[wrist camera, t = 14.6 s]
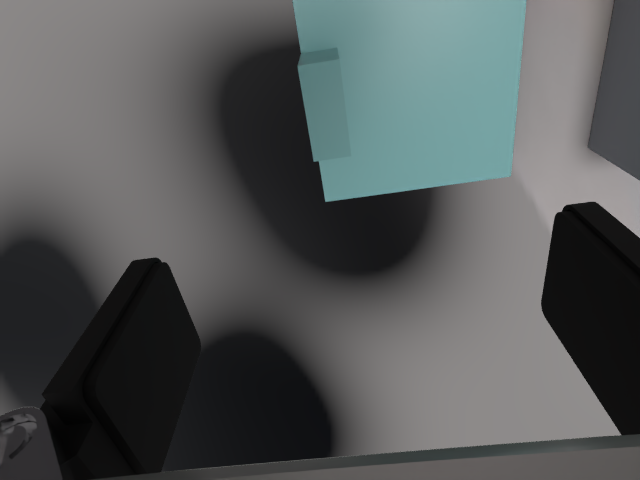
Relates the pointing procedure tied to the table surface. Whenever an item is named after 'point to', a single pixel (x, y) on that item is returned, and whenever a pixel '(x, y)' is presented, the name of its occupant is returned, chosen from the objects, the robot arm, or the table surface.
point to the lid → (409, 91)
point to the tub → (620, 92)
